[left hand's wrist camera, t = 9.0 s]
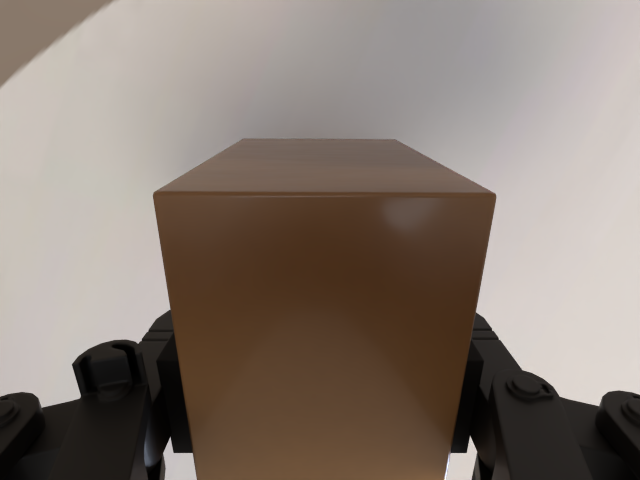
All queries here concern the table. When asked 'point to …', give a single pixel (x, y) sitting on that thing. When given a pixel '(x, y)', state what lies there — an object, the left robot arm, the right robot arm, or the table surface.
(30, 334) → the table surface
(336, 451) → the bar
